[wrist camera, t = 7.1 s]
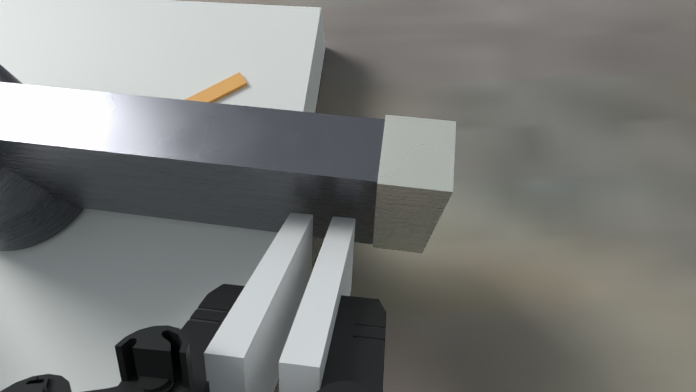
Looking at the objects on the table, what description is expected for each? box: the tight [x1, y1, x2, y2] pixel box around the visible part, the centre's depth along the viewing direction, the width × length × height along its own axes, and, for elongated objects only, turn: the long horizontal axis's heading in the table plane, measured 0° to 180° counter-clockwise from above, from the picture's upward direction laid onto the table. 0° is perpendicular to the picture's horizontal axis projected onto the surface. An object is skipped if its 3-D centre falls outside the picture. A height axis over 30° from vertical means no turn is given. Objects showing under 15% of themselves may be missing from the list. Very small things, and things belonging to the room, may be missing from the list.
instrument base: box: [0, 0, 326, 392], centre depth 19 cm, size 22×24×7 cm
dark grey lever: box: [0, 65, 456, 253], centre depth 15 cm, size 21×6×7 cm, turn 82°
